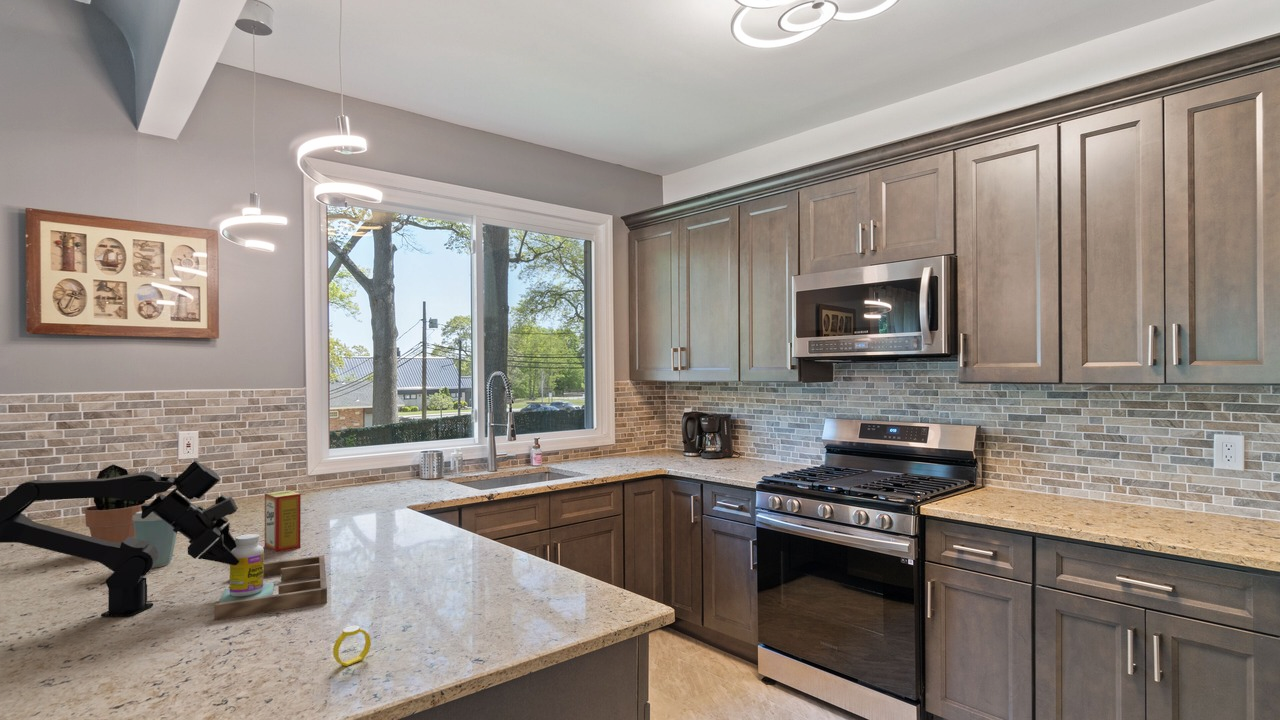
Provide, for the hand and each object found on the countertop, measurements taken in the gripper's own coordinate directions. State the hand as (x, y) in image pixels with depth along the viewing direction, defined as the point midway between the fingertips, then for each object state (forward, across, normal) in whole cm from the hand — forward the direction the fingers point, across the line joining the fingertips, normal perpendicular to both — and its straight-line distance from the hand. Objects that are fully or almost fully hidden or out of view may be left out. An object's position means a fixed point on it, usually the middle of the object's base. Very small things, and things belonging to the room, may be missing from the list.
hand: (239, 558), depth 146 cm
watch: (+21, -50, -9) cm, 55 cm away
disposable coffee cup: (-9, +39, +22) cm, 46 cm away
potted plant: (-19, +63, +32) cm, 73 cm away
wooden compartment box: (+11, 0, +1) cm, 11 cm away
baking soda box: (+11, +43, +1) cm, 45 cm away
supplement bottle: (+7, 0, +5) cm, 8 cm away
